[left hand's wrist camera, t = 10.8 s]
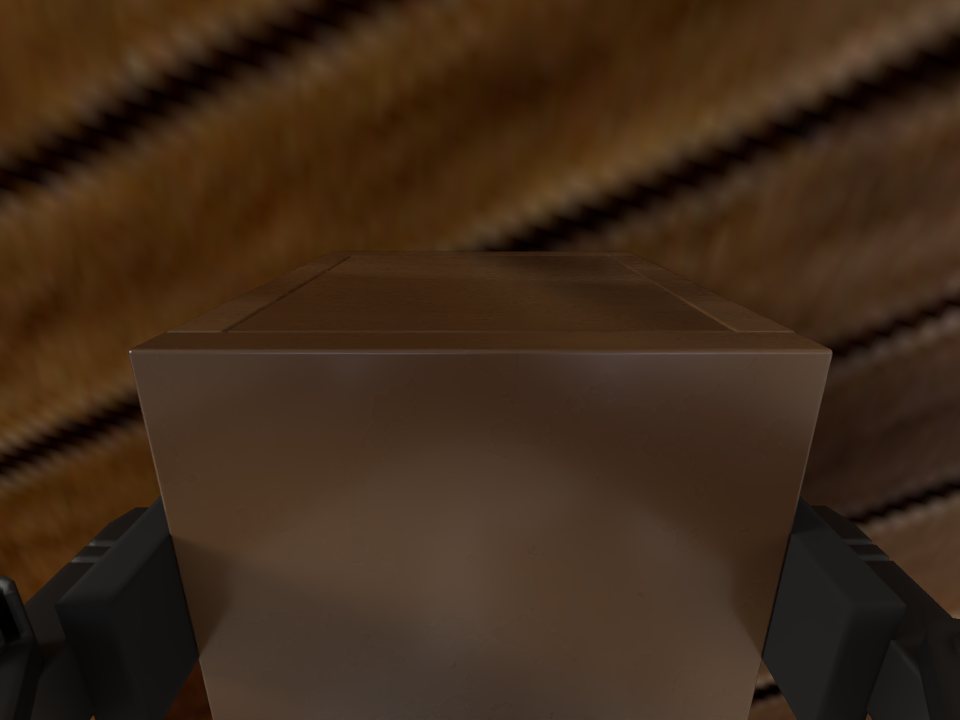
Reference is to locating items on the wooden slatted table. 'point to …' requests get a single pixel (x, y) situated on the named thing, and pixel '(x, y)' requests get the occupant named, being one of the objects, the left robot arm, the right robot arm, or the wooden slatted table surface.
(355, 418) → the brown box
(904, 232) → the wooden slatted table surface
